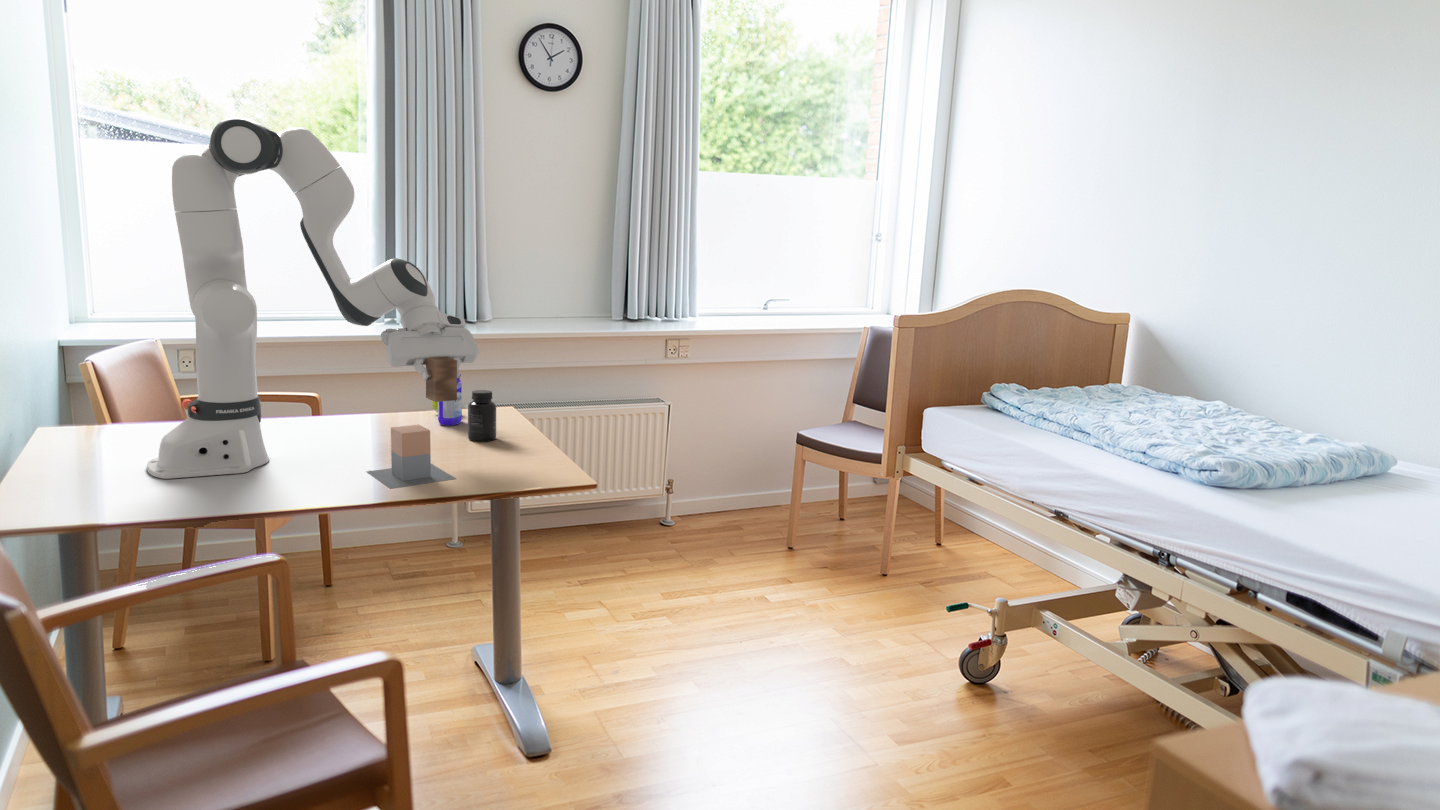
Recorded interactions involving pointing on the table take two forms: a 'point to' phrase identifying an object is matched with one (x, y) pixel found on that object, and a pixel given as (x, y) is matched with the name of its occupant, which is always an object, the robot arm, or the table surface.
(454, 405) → the bottle
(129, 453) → the table surface
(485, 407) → the supplement bottle
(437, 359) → the walnut post
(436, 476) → the rubber mat
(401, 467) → the tower bottom
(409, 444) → the tower top
